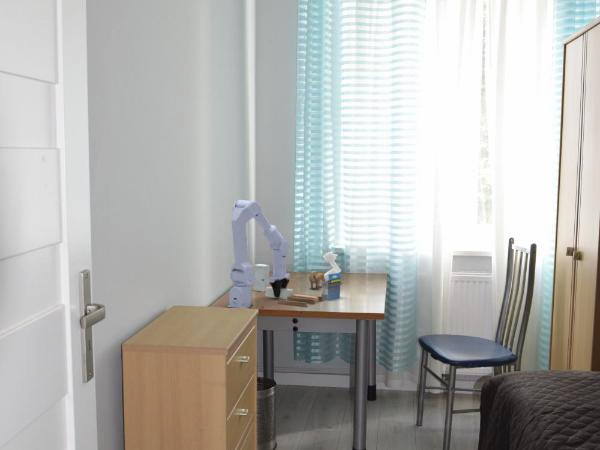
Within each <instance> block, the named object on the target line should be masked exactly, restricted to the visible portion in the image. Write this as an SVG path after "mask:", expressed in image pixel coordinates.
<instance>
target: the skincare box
mask: <svg viewBox="0 0 600 450" xmlns="http://www.w3.org/2000/svg"><path fill="white" fill-rule="evenodd" d="M253 271H254V273H255V281H254V282H253V291H256V292H262V293H263V292H264V291H265V292H266V288H267V287H270V282H269V278H270V264H263V263H257V264H254V268H253ZM265 292H264V293H265Z"/></svg>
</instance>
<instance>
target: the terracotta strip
mask: <svg viewBox="0 0 600 450" xmlns="http://www.w3.org/2000/svg"><path fill="white" fill-rule="evenodd" d="M299 294H300V293H295V294H293V295H292V297H297V298H305V299H313V300H315V302H318V297H316V296H317V295H312V296H308V295H309V294H304V295H299Z"/></svg>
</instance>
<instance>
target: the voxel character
mask: <svg viewBox="0 0 600 450" xmlns="http://www.w3.org/2000/svg"><path fill="white" fill-rule="evenodd" d="M338 256H339V254H338V253H337V254H336V253H333V251H331V252H330V251H328V252H327V253H325V254H324V255H322V258H323V260H324V261H326V262H328V264H329V265H330V266H331V267H332V268H331V269H329V270H328V271H326V273H323V274H324V277H325V281H328V280H329V279H328V274H334V273H339V272H340V273H341V272H342V269H341V268H340V267H339V265H338V263H336V260H337V257H338ZM335 277H337V276H335V275H334V276H333V278H335ZM341 281H342V280H340V283H341Z"/></svg>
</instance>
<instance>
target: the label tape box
mask: <svg viewBox="0 0 600 450" xmlns="http://www.w3.org/2000/svg"><path fill="white" fill-rule="evenodd" d="M334 275H335V276H337V277H335V278H333V276H334ZM328 279H329V280H328V281H326V280H325V282H323V281H322V282H321V291H320V292H321V297H324V300H325V301H331V300H336V299H340V298H341V297H340V296H341V295H340V294H341V282H340V280H341V279H342V278H341V272H339V273H334V274H328ZM341 281H342V280H341Z"/></svg>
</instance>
